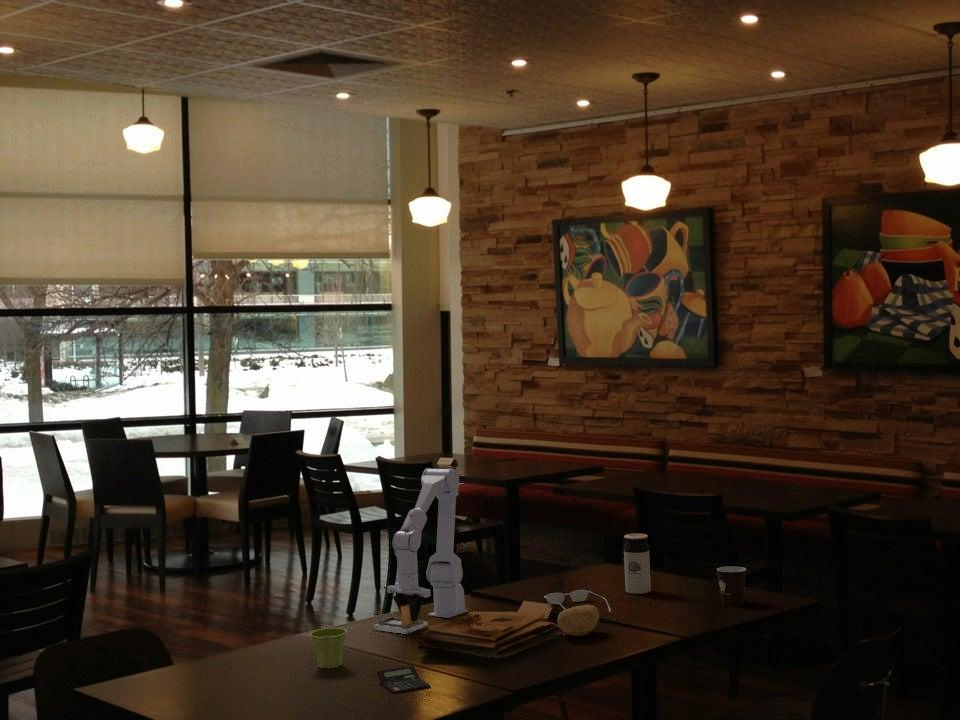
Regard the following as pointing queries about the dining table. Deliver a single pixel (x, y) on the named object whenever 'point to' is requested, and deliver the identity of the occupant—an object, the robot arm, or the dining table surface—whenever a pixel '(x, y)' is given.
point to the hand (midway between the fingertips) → (409, 619)
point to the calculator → (401, 680)
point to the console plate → (398, 626)
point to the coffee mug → (731, 584)
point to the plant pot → (329, 646)
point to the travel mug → (637, 564)
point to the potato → (578, 620)
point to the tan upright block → (406, 615)
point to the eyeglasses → (575, 596)
